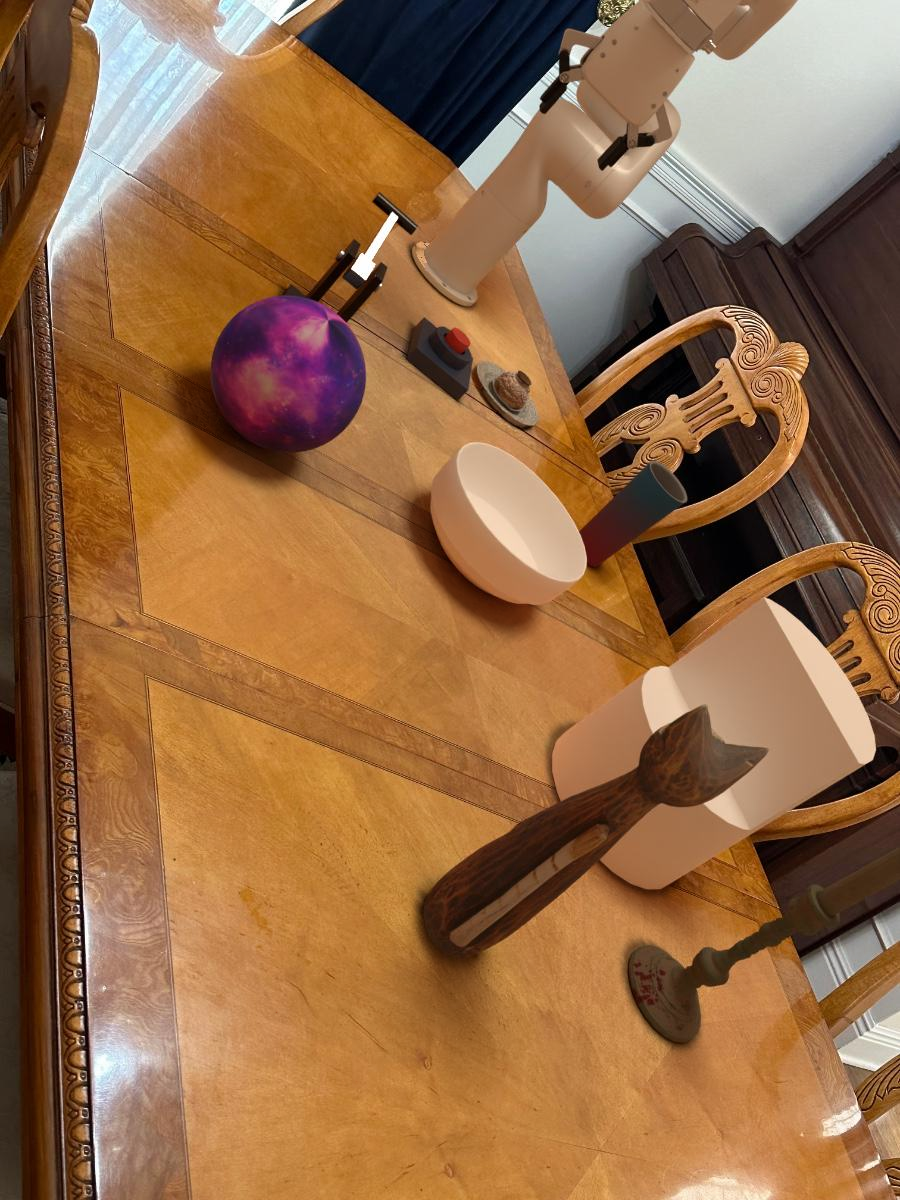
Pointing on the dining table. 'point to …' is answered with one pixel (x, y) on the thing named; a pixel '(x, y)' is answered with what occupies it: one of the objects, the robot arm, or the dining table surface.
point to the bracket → (335, 272)
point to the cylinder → (724, 738)
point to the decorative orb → (288, 374)
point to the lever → (377, 241)
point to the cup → (632, 512)
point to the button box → (440, 358)
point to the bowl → (505, 527)
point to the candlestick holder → (742, 950)
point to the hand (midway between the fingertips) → (570, 138)
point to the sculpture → (577, 835)
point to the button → (457, 340)
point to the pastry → (508, 393)
